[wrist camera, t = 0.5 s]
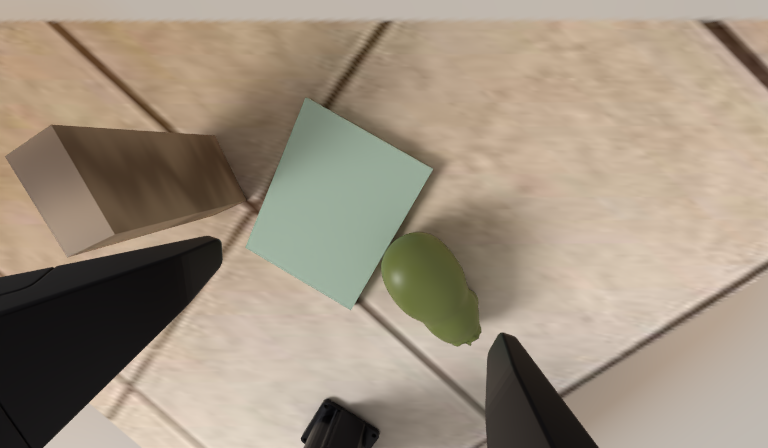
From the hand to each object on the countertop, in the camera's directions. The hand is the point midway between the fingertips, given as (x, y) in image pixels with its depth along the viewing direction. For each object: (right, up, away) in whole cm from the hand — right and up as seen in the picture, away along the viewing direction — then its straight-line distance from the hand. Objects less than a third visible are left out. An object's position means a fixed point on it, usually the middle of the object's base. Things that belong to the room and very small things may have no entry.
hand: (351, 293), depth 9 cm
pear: (+5, -2, +16) cm, 17 cm away
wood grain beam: (-14, +6, +17) cm, 23 cm away
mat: (-3, +3, +16) cm, 16 cm away
